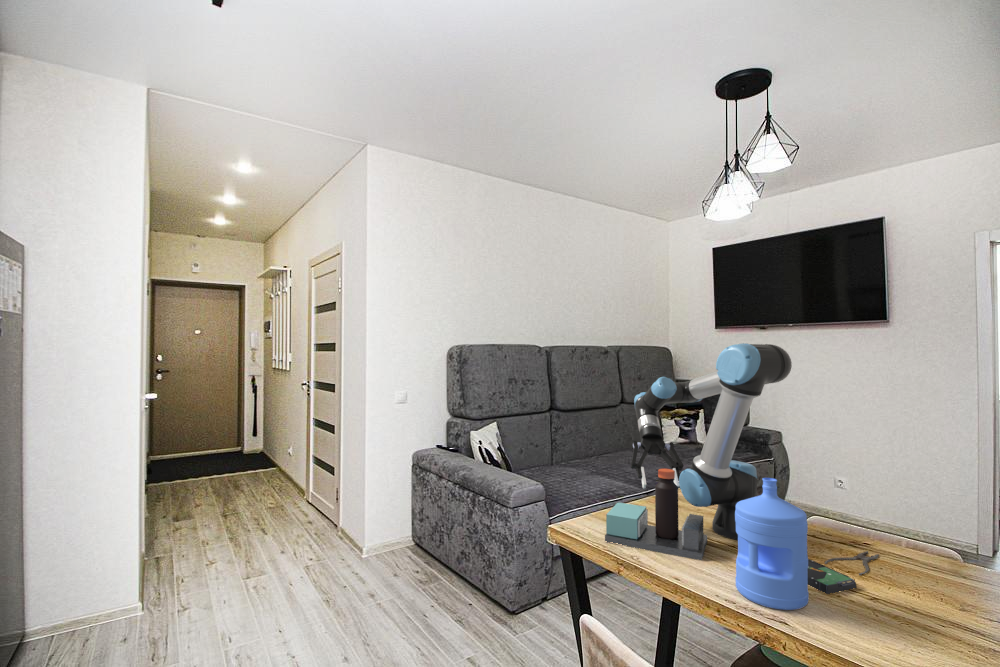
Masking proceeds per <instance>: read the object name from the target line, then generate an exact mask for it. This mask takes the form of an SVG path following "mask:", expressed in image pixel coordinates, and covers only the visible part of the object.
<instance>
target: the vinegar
mask: <svg viewBox="0 0 1000 667" xmlns="http://www.w3.org/2000/svg"><path fill="white" fill-rule="evenodd" d="M657 471H658V472H657V476H658V479H659V480H658V482H657V483H655V486H654V489H655V490H654V494H655V496H654V498H655V499H654V502H655V504H654V505H655V506H654V507H655V510H654V511H655V513H654V514H655V526H656V535H657V536H659V537H661V538H666V539H675V538H677V537H678V535H679V530H680V528H679V488H678V487H677V486H676V484H675V483H674V480H675V479H674V478H675V471H674V470H672V469H671V468H659V469H658V470H657Z"/></svg>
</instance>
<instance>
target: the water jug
mask: <svg viewBox="0 0 1000 667" xmlns="http://www.w3.org/2000/svg"><path fill="white" fill-rule="evenodd" d="M777 482H778V479H776V478H773V477H762V485H761V486H762V493H761V494H760V495H757V496H756V497H752V498H749V499H745V500H742V501H739V502H738V503H737V504H736V510H735V522H736V533H737V534H738V540H737V557H736V559H735V588H736V589H737V591H738V592H739V593H740V594H741V595H742V596H743V597H744V598H745V599H747V600H749V601H751V602H753V603H755V604H757V605H761V606H763V607H765V608H769V609H770V608H771V609H775V610H781V611H783V610H784V611H795V610H799V609H803V608H804V607H806V606H807V605H808V603H809V599H810V598H809V590H808V589H809V585H808V559H809V556H808V532H809V531H808V529H809V528H808V525H809V524H808V520H807V519H808V516H807V513H806V512H805V511H804V510H803V509H802V508H800V507H798V506H795V505H794V504H792V503H791V502H789V501H787V500H785V499H783V498H780V497H779V496H778V486H777Z"/></svg>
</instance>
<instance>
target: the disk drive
mask: <svg viewBox="0 0 1000 667" xmlns="http://www.w3.org/2000/svg"><path fill="white" fill-rule="evenodd" d="M809 585H810V587H811V586H812V587H811V588H813V587H814V588H813V589H815V588H816V589H815V590H817V589H818V590H817V591H819V590H820V591H819V592H821V591H822V592H821V593H823V592H825V593H826V594H825V593H824V594H825V595H831V594H830V593H832V594H836V593H835V592H837V593H840V592H839V591H841V592H845V591H844V590H846V591H850V590H849V589H851V590H854V589H853V588H856V589H857V582H856V580H855V579H854V578H852V577H850V576H848V575H846V574H844V573H842V572H839V571H837V570H835V569H833V568H831V567H828V566H826V565H824V564H822V563H818V562H816V561H814V560H812V559H810V558H808V586H809Z"/></svg>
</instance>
